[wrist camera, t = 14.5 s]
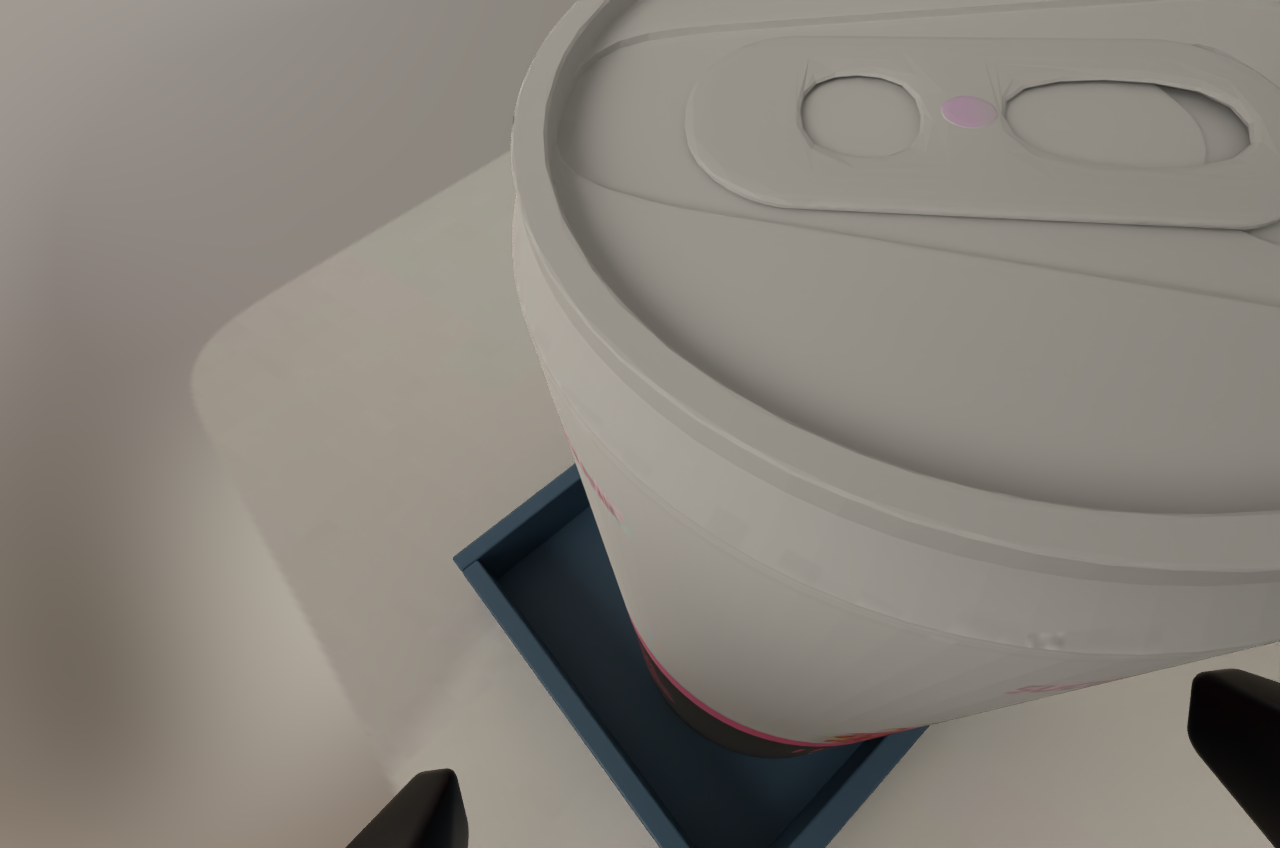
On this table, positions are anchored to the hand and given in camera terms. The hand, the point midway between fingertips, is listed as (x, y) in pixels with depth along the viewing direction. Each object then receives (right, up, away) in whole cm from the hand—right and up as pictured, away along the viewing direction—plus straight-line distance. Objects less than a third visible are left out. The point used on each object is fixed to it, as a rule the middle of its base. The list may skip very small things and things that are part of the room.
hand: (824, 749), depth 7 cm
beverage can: (+1, -2, +10) cm, 10 cm away
